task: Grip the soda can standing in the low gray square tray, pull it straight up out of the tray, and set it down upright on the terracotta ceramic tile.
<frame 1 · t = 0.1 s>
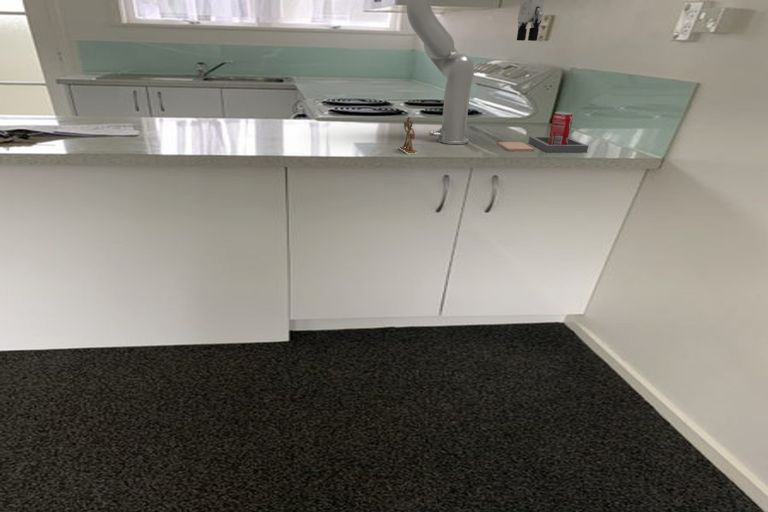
hand: (526, 40, 154), 37 cm above the countertop, tool pointing down, fingers open, 9 cm apart
bronze figurine: (407, 152, 151), on the countertop
gray square tray: (556, 147, 164), on the countertop
soda can: (556, 148, 164), resting in gray square tray
tile: (514, 147, 162), on the countertop
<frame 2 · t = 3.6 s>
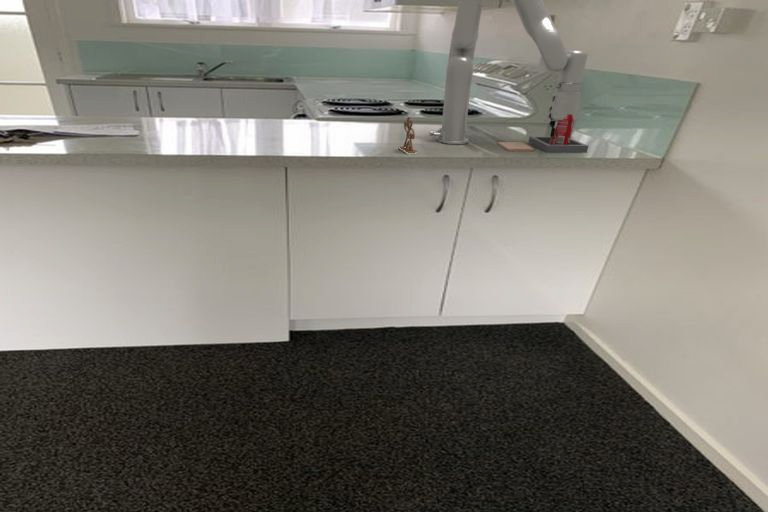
hand: (556, 138, 162), 4 cm above the countertop, tool pointing down, fingers closed
soda can: (558, 147, 164), resting in gray square tray, touching gripper
everything else where it was.
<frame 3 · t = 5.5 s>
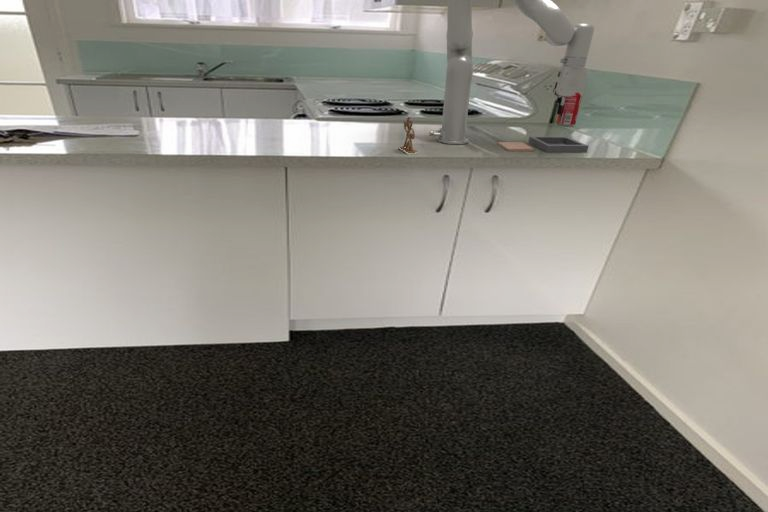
hand: (561, 116, 158), 12 cm above the countertop, tool pointing down, fingers closed
soda can: (564, 126, 160), point 8 cm above the countertop, touching gripper
everything else where it was.
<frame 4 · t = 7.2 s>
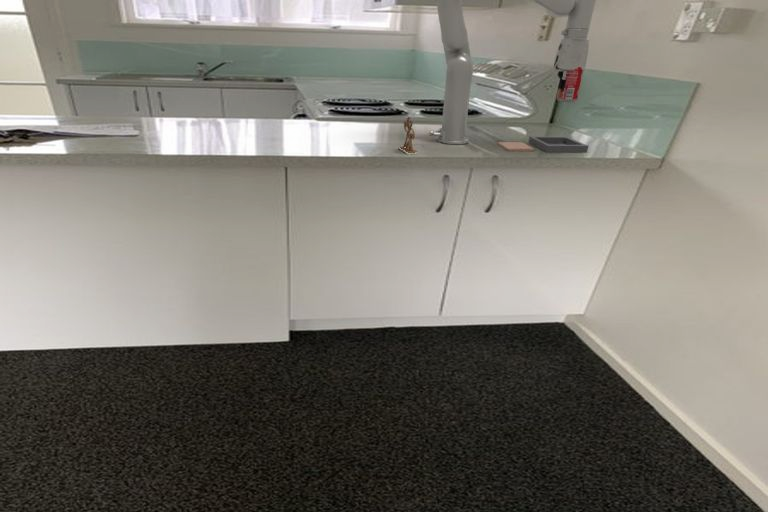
hand: (563, 91, 154), 21 cm above the countertop, tool pointing down, fingers closed
soda can: (565, 101, 156), point 17 cm above the countertop, touching gripper
everything else where it was.
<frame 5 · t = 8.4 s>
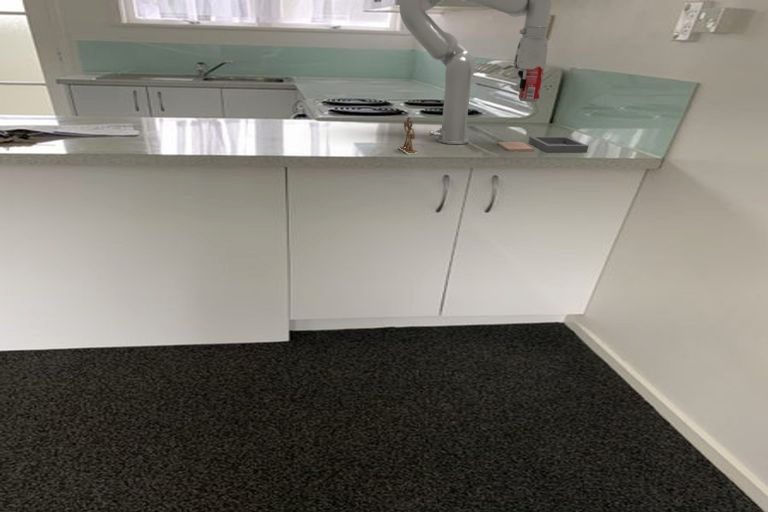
hand: (524, 90, 152), 21 cm above the countertop, tool pointing down, fingers closed
soda can: (527, 101, 155), point 17 cm above the countertop, touching gripper
everything else where it was.
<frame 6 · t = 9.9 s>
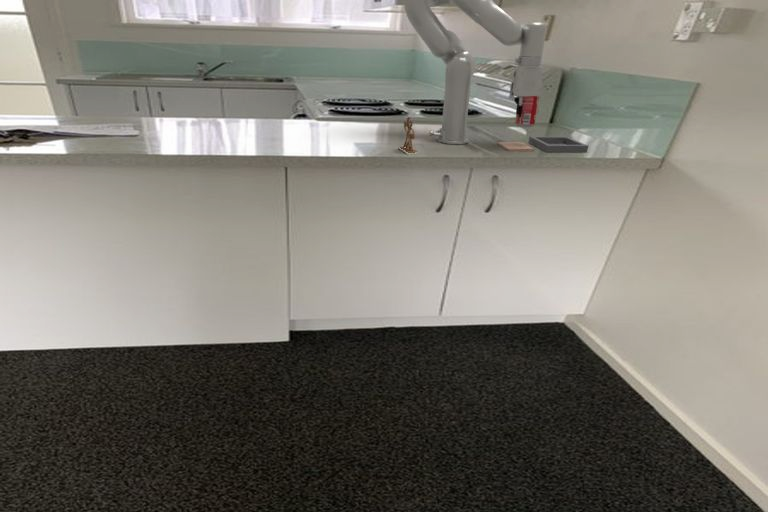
hand: (520, 116, 156), 12 cm above the countertop, tool pointing down, fingers closed
soda can: (524, 126, 159), point 8 cm above the countertop, touching gripper
everything else where it was.
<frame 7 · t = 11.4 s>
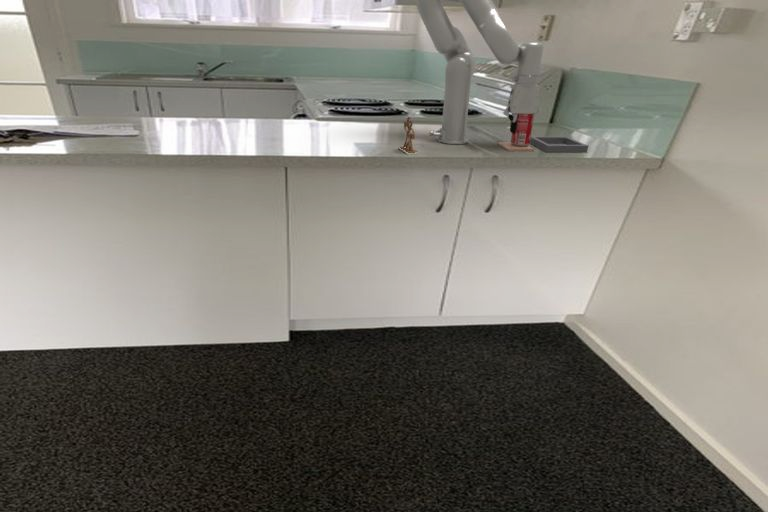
hand: (517, 132, 159), 6 cm above the countertop, tool pointing down, fingers open, 3 cm apart
soda can: (519, 145, 162), point 1 cm above the countertop, touching tile
everything else where it was.
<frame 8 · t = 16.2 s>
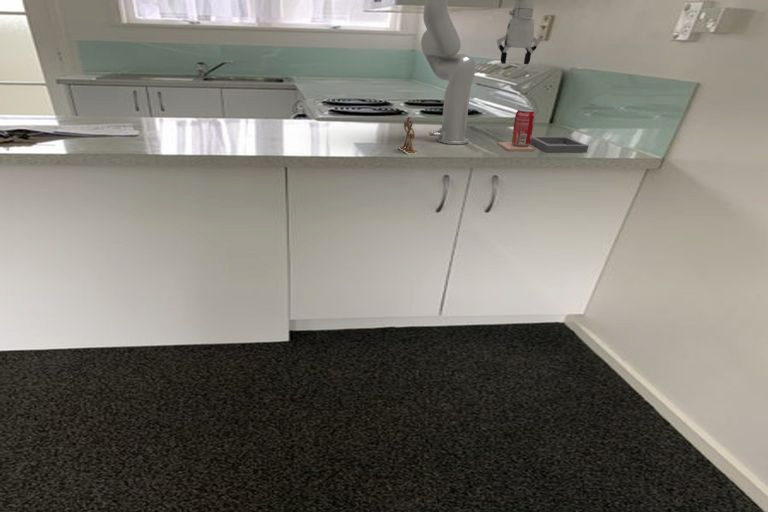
hand: (514, 63, 169), 28 cm above the countertop, tool pointing down, fingers open, 9 cm apart
nothing on the countertop moved.
at the end: soda can inside the target area on the tile (2.4 cm from its centre), point 0.6 cm above the tile's base; soda can tilted 0°; the gripper is holding nothing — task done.
